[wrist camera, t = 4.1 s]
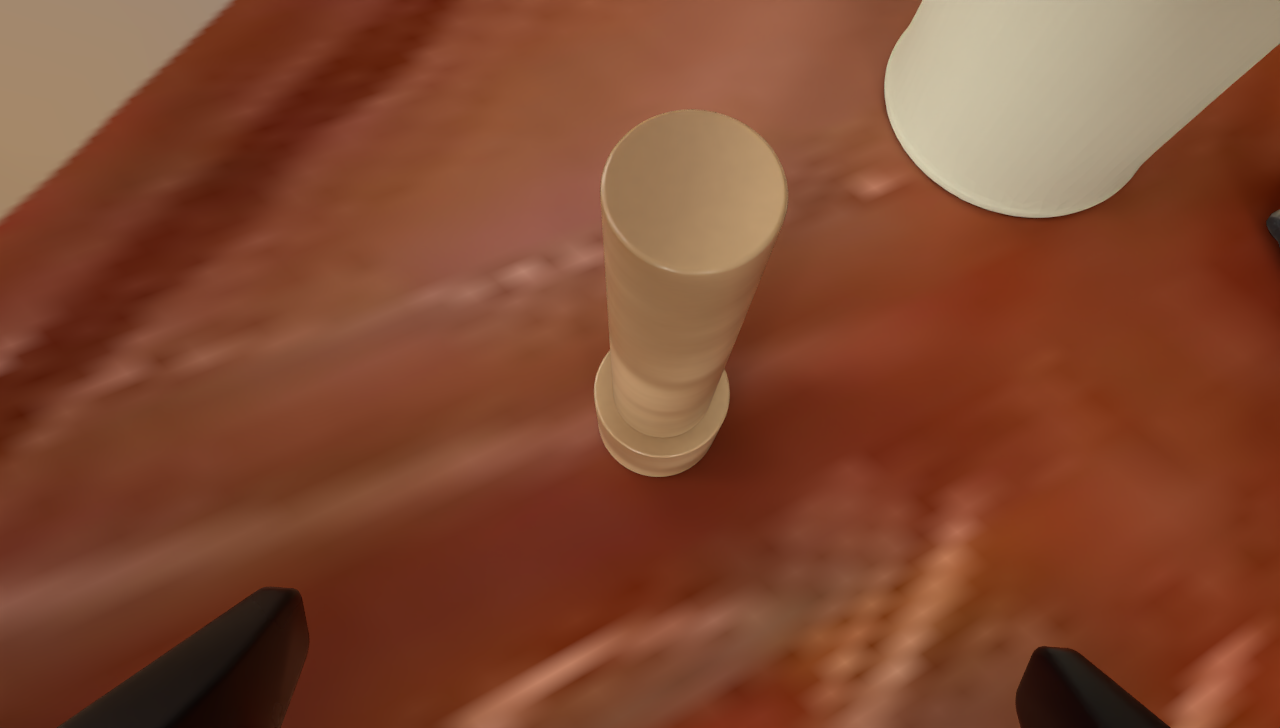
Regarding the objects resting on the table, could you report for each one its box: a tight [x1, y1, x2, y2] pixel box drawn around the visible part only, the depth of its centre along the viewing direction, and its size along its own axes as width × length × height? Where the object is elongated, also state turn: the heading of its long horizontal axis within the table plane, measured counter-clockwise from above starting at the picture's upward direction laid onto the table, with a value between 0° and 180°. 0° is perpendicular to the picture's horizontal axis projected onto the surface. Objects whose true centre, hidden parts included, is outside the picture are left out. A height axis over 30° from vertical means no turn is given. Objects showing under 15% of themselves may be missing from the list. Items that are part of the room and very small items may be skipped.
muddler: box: [594, 109, 788, 477], centre depth 16 cm, size 4×4×13 cm
